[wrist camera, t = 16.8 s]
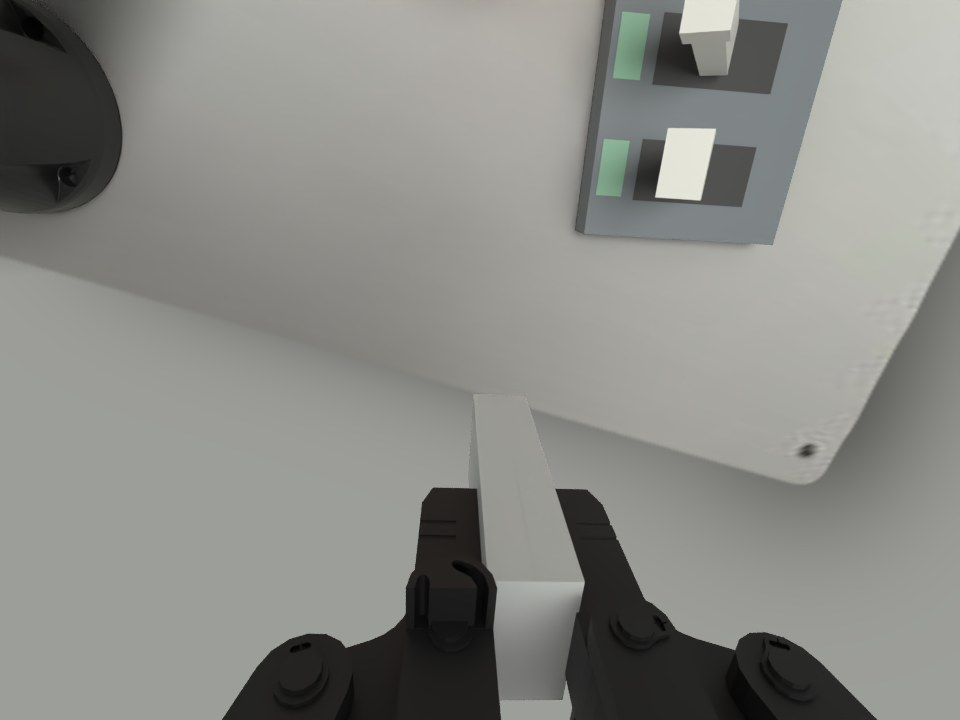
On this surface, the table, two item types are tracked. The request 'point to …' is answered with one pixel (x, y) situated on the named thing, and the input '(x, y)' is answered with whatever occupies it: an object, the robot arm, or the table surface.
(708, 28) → the handle
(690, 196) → the handle
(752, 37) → the breaker panel
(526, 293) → the table surface
